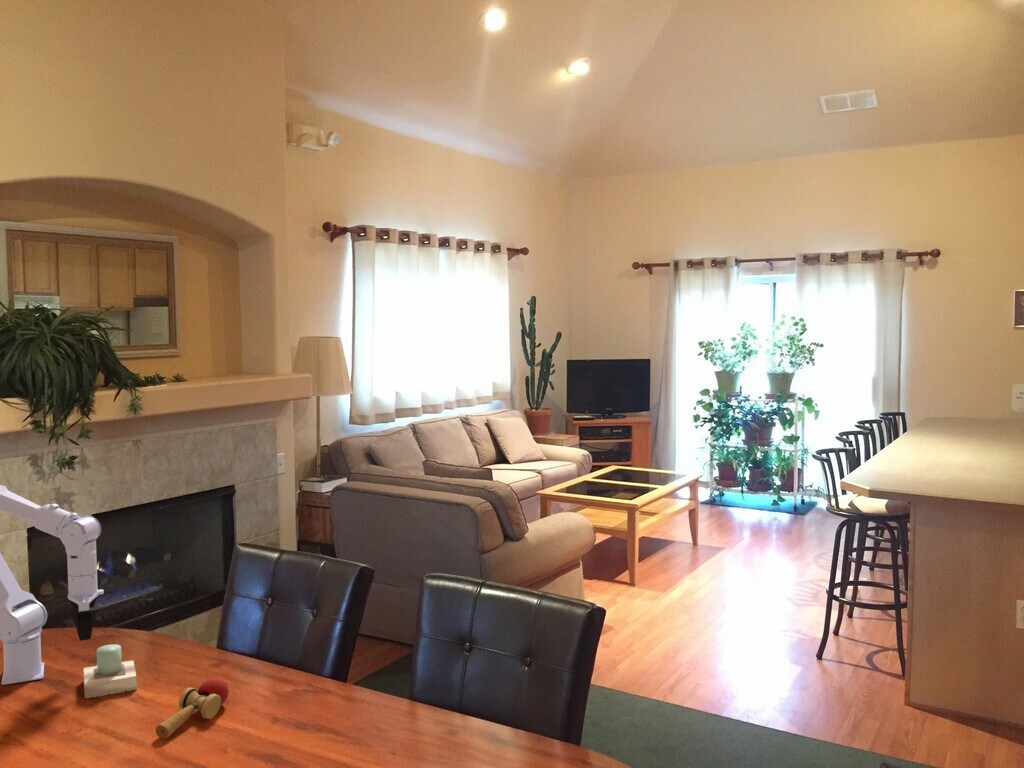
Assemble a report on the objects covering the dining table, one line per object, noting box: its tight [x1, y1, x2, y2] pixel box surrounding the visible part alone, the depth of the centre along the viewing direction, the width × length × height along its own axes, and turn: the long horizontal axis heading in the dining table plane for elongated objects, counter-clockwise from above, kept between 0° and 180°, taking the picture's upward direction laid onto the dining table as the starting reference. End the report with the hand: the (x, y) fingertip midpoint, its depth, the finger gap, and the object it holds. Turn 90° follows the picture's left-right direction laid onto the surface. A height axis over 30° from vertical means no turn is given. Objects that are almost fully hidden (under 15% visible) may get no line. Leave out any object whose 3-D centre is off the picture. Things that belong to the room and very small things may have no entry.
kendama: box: [155, 677, 229, 740], centre depth 174 cm, size 8×6×18 cm
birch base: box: [83, 659, 138, 699], centre depth 190 cm, size 10×10×3 cm
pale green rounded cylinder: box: [96, 644, 123, 676], centre depth 189 cm, size 5×5×5 cm
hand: (84, 634), depth 192 cm, fingers open, 7 cm apart
